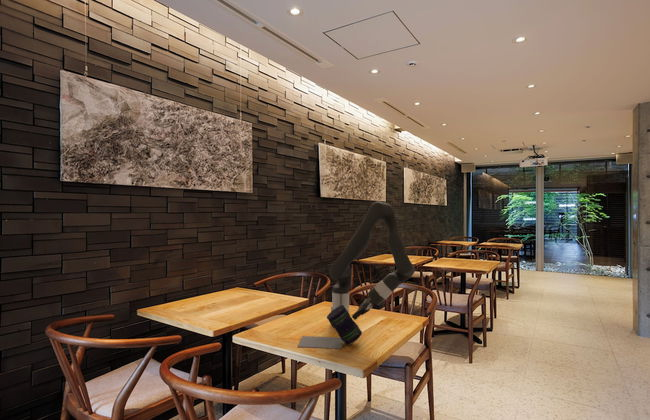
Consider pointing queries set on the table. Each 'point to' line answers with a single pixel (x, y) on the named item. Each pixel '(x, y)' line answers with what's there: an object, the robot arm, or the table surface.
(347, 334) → the dark ribbed cylinder
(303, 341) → the mat
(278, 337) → the table surface
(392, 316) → the table surface
